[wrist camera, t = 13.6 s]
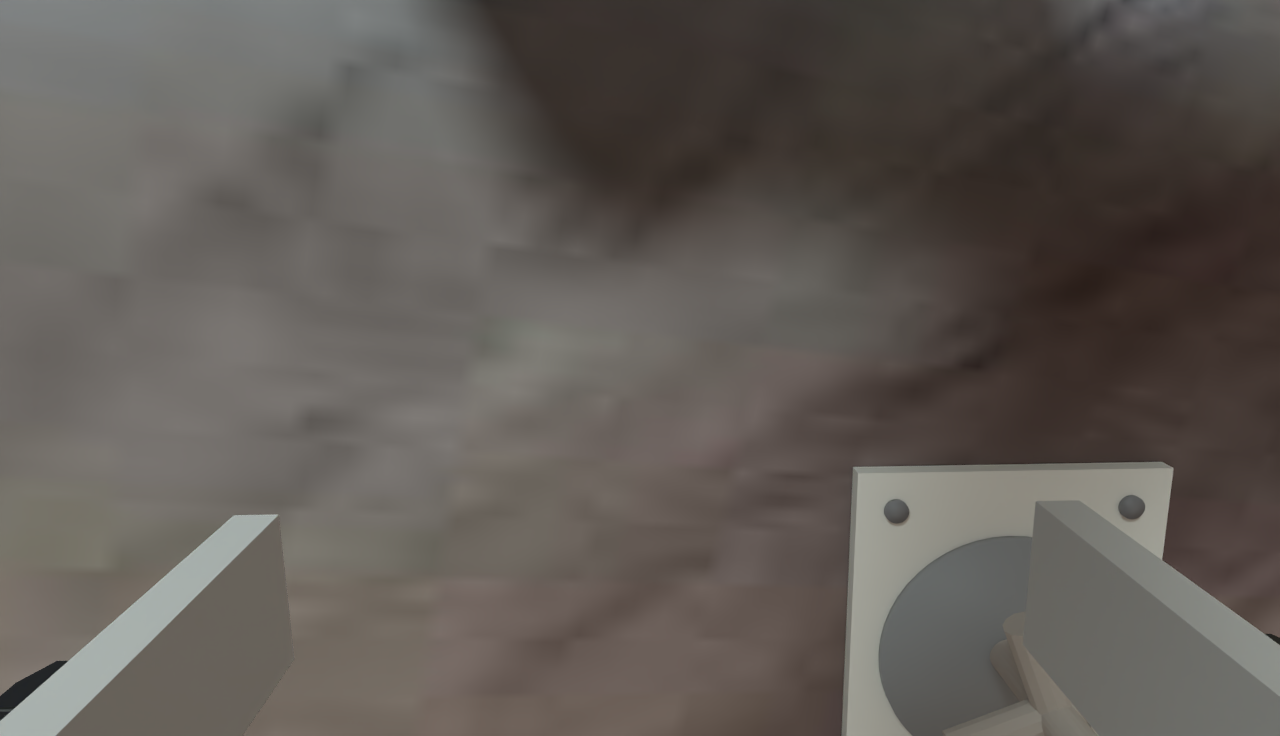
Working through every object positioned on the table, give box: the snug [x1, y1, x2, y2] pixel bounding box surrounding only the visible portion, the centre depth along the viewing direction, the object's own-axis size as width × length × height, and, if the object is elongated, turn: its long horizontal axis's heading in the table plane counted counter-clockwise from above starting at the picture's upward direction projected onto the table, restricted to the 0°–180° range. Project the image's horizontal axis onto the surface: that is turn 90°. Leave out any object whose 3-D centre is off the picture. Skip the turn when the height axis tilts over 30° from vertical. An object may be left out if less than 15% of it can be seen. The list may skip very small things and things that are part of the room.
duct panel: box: [841, 462, 1174, 736], centre depth 47 cm, size 20×16×2 cm
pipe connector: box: [942, 611, 1098, 736], centre depth 41 cm, size 10×10×10 cm
